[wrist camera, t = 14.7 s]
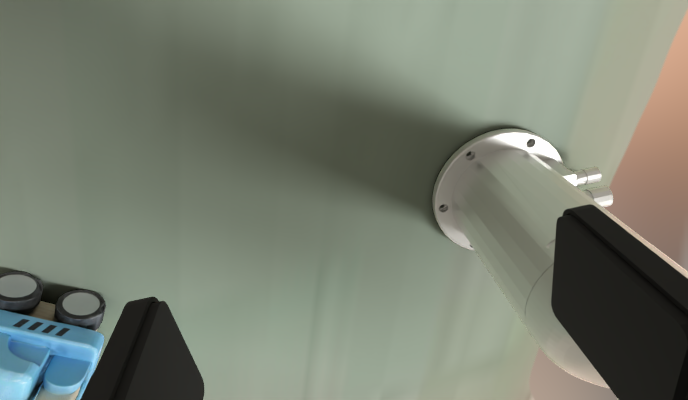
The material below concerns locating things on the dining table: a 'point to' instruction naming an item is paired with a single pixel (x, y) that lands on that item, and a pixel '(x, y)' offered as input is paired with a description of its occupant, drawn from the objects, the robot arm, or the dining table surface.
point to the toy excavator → (47, 340)
